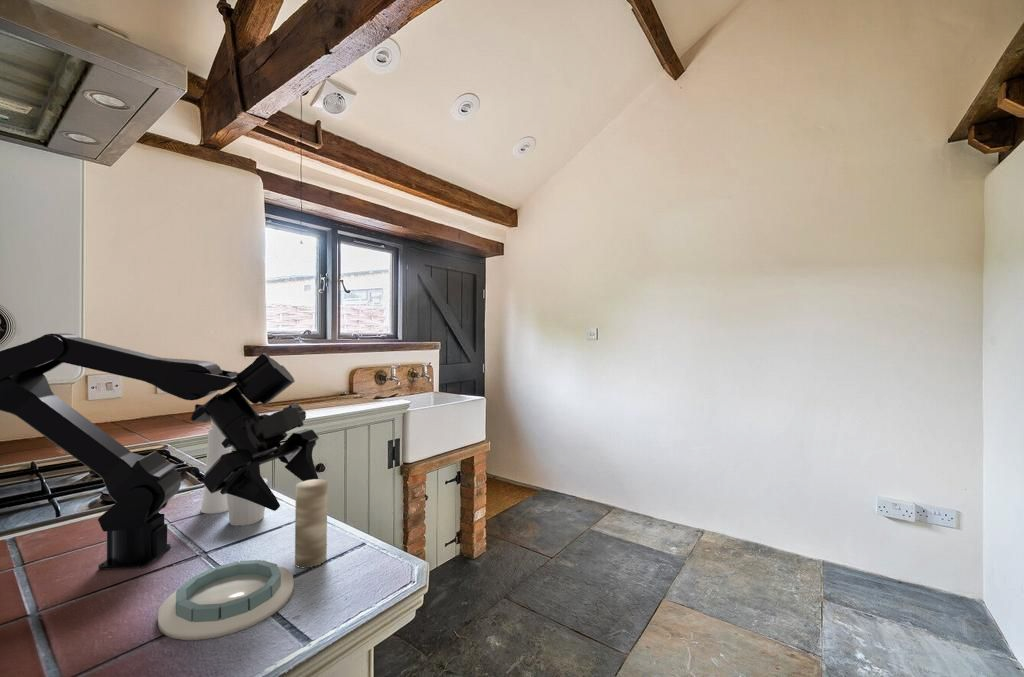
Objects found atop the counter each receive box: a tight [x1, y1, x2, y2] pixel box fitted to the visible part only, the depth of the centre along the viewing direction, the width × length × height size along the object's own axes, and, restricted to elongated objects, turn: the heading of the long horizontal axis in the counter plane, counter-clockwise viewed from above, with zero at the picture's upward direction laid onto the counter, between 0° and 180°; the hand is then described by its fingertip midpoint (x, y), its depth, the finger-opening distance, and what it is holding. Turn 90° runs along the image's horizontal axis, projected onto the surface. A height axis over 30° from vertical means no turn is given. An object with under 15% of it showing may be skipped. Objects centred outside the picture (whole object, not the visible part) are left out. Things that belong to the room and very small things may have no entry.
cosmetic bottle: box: [200, 419, 232, 515], centre depth 89 cm, size 6×6×22 cm
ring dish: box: [157, 559, 295, 641], centre depth 59 cm, size 15×15×2 cm
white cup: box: [226, 477, 268, 527], centre depth 85 cm, size 7×7×7 cm
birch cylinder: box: [294, 478, 328, 568], centre depth 70 cm, size 4×4×12 cm
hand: (299, 497), depth 70 cm, fingers open, 9 cm apart
